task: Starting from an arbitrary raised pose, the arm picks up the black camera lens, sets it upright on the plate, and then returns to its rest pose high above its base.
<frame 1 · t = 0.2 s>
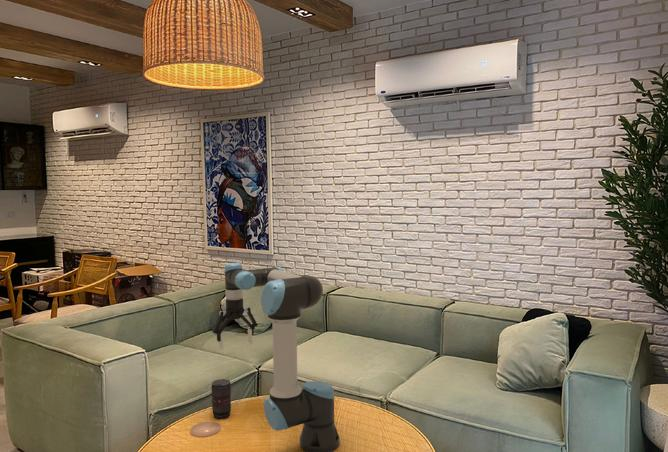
hand: (235, 345, 221), 28 cm above the table, fingers open, 13 cm apart
camera lens: (222, 416, 214), on the table
plate: (205, 429, 202), on the table
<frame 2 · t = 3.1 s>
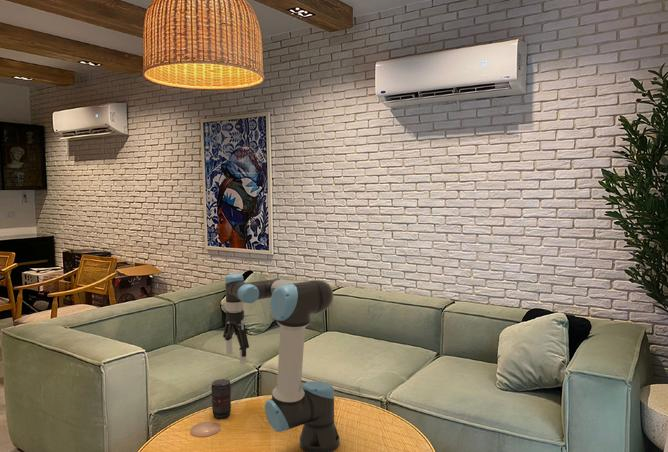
hand: (236, 359, 214), 24 cm above the table, fingers open, 13 cm apart
nothing on the table moved.
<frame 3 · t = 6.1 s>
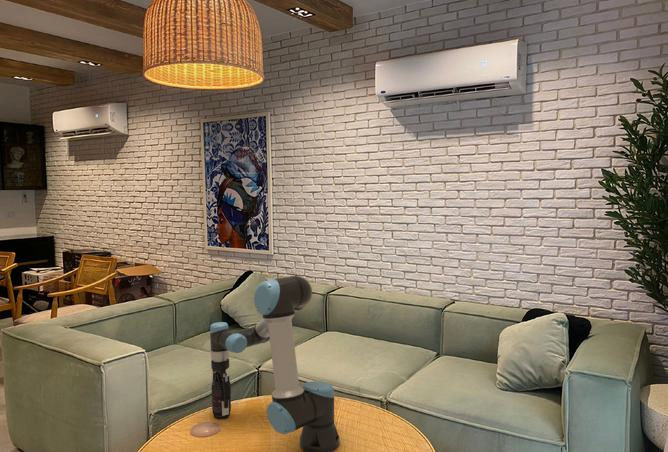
hand: (221, 411, 214), 2 cm above the table, fingers closed on camera lens, 8 cm apart
camera lens: (222, 416, 214), on the table, touching gripper
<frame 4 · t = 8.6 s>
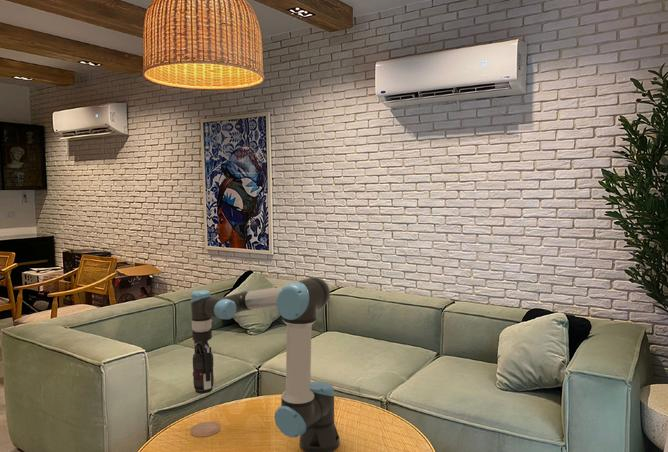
hand: (203, 385, 201), 19 cm above the table, fingers closed on camera lens, 8 cm apart
camera lens: (204, 391, 201), point 16 cm above the table, touching gripper
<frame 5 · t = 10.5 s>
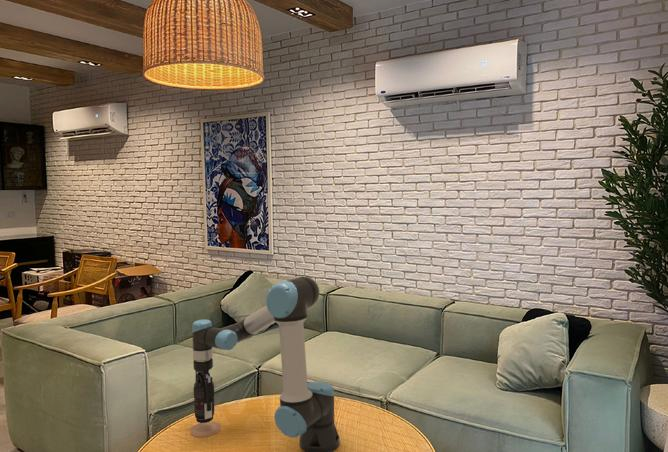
hand: (204, 413, 202), 7 cm above the table, fingers closed on camera lens, 8 cm apart
camera lens: (205, 419, 202), point 4 cm above the table, touching gripper
when the fingers open (4 cm above the table, at t = 11.5 s): camera lens drops 1 cm, resting on plate.
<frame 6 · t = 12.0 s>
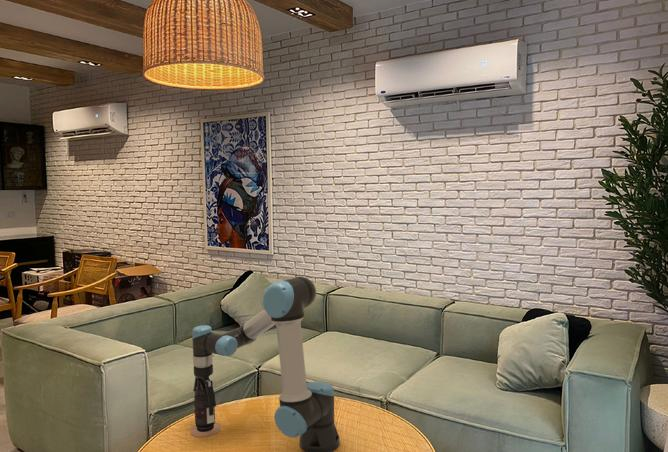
hand: (205, 416, 202), 6 cm above the table, fingers open, 13 cm apart
camera lens: (205, 428, 202), point 1 cm above the table, touching plate
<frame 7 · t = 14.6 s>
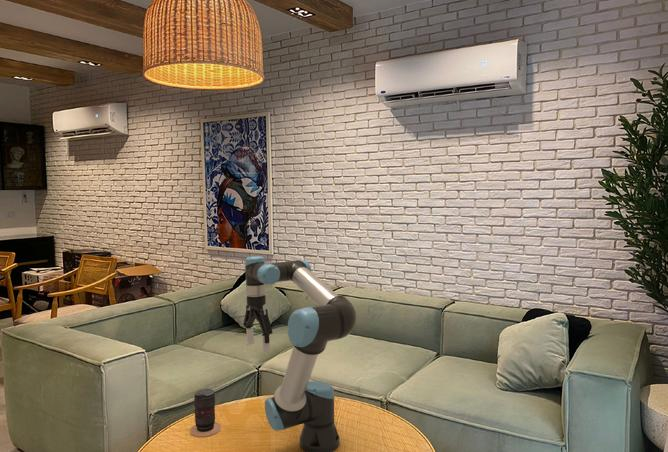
hand: (258, 347, 201), 33 cm above the table, fingers open, 13 cm apart
nothing on the table moved.
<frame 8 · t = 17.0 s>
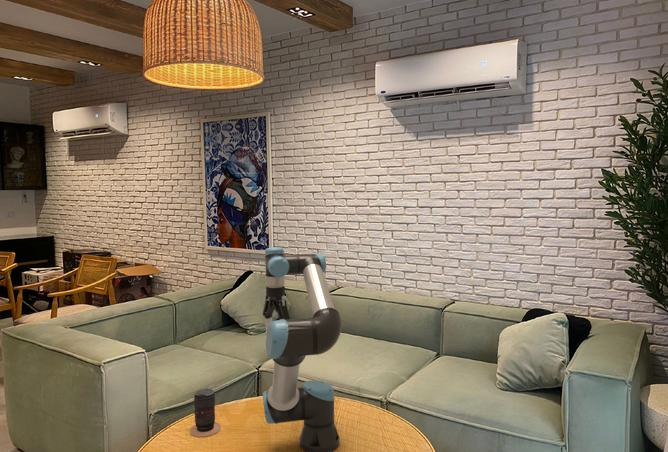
hand: (276, 337, 202), 37 cm above the table, fingers open, 13 cm apart
nothing on the table moved.
at the end: camera lens 0.1 cm from the plate (horizontally); camera lens tilted 0°; the gripper is holding nothing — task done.
